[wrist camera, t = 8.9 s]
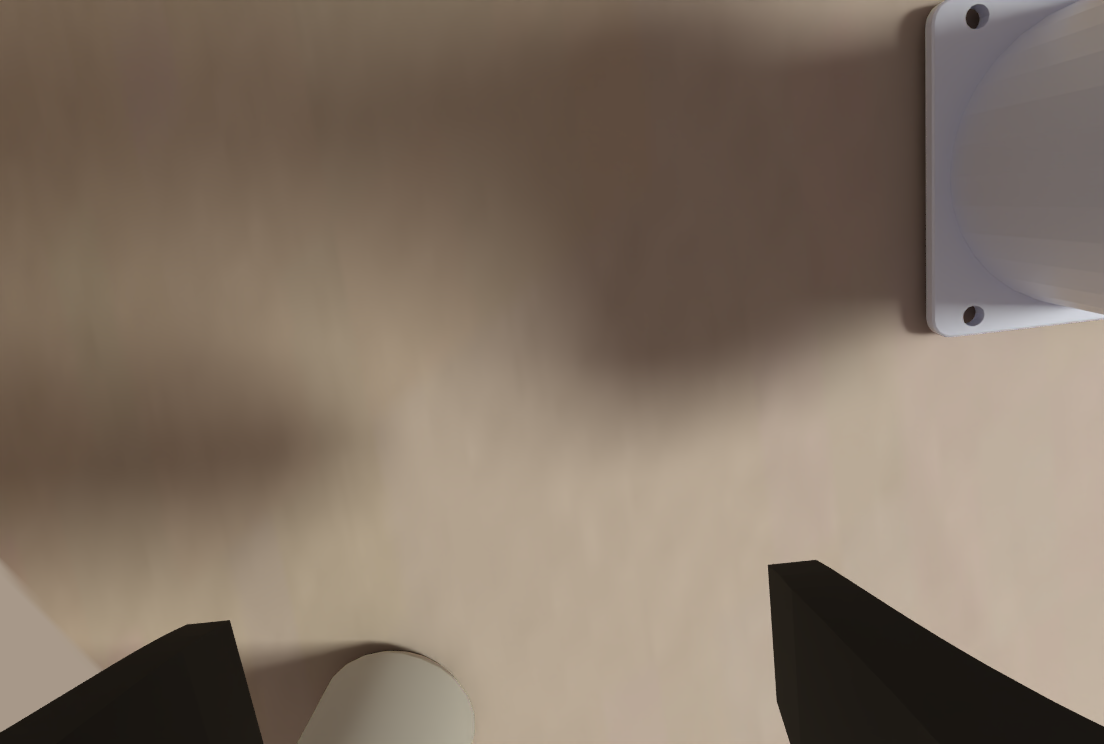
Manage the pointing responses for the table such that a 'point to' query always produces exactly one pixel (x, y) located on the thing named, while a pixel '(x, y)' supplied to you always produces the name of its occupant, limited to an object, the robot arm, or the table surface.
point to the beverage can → (392, 704)
